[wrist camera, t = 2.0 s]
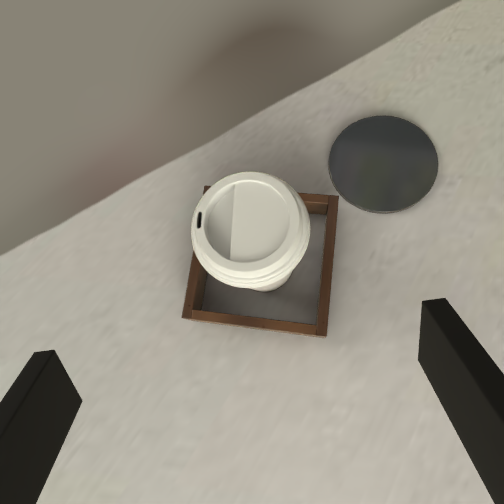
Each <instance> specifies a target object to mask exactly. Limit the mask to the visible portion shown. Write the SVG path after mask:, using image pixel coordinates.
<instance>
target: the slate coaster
mask: <svg viewBox="0 0 504 504" xmlns="http://www.w3.org/2000/svg"><path fill="white" fill-rule="evenodd" d="M437 172H438V158H437V153H436V150H435V147H434V145H433V143H432V142H431V140H430V139H429V137H428V136H427V135H426V134H425V133H424V132H423V131H422V130H421V129H420V128H419V127H417V126H416V125H414V124H413V123H411V122H409V121H407V120H404V119H401V118H398V117H393V116H372V117H368V118H364V119H361V120H359V121H357V122H355V123H353V124H351V125H350V126H348V127H347V128H346V129H345V130H343V131H342V132H341V134H340V135H339V136H338V137H337V139H336V140H335V142H334V144H333V146H332V148H331V151H330V156H329V174H330V177H331V180H332V183H333V185H334V187H335V188H336V190H337V191H338V192H339V194H340V195H341V196H342V197H343V198H344V199H345V200H346V201H348V202H349V203H350V204H352V205H354V206H356V207H357V208H360V209H362V210H365V211H369V212H373V213H394V212H399V211H402V210H405V209H407V208H409V207H411V206H413V205H415V204H416V203H418V202H419V201H420V200H421V199H423V198H424V197H425V195H426V194H427V193H428V192H429V191H430V189H431V187H432V186H433V184H434V182H435V179H436V176H437Z"/></svg>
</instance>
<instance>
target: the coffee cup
mask: <svg viewBox="0 0 504 504" xmlns="http://www.w3.org/2000/svg"><path fill="white" fill-rule="evenodd" d="M309 238H310V219H309V214H308V211H307V208H306V206H305V204H304V202H303V200H302V199H301V197H300V196H299V194H298V193H297V192H296V191H295V190H294V189H293V188H292V187H291V186H290V185H289V184H287V183H286V182H285V181H283V180H281V179H280V178H278V177H275V176H273V175H270V174H267V173H262V172H239V173H235V174H232V175H229V176H227V177H224V178H223V179H221V180H219V181H218V182H216V183H215V184H214V185H213V186H211V187H210V188H209V189H208V190H207V192H206V193H205V194H204V195H203V196H202V198H201V199H200V201H199V203H198V205H197V207H196V209H195V212H194V215H193V218H192V224H191V239H192V245H193V249H194V252H195V254H196V256H197V258H198V260H199V262H200V263H201V265H202V266H203V267H204V268H205V270H206V271H207V272H208V273H209V274H211V275H212V276H213V277H214V278H216V279H218V280H219V281H221V282H223V283H225V284H228V285H231V286H235V287H240V288H250V289H253V290H255V291H260V292H268V291H273V290H275V289H278V288H279V287H281V286H282V285H283V284H285V283H286V281H287V280H288V279H289V277H290V275H291V273H292V270H293V269H294V268H295V267H296V266H297V264H298V263H299V262H300V260H301V259H302V257H303V255H304V253H305V251H306V249H307V246H308V243H309Z"/></svg>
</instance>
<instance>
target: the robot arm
mask: <svg viewBox="0 0 504 504" xmlns="http://www.w3.org/2000/svg"><path fill="white" fill-rule="evenodd" d="M418 361H419V363H420V364H421V366H422V368H423V370H424V372H425V374H426V376H427V378H428V380H429V381H430V383H431V385H432V387H433V389H434V391H435V393H436V395H437V396H438V398H439V400H440V402H441V404H442V406H443V408H444V410H445V411H446V413H447V415H448V417H449V419H450V421H451V423H452V425H453V426H454V428H455V430H456V432H457V434H458V436H459V438H460V440H461V441H462V443H463V445H464V447H465V449H466V451H467V453H468V455H469V456H470V458H471V460H472V462H473V464H474V466H475V468H476V470H477V471H478V473H479V475H480V477H481V479H482V481H483V483H484V485H485V486H486V488H487V490H488V492H489V494H490V496H491V498H492V500H493V501H494V503H495V504H504V374H503V373H502V372H501V370H500V369H499V368H498V366H497V365H496V364H495V362H494V361H493V360H492V358H491V357H490V356H489V355H488V353H487V352H486V351H485V349H484V348H483V347H482V345H481V344H480V343H479V341H478V340H477V339H476V338H475V336H474V335H473V334H472V332H471V331H470V330H469V328H468V327H467V326H466V324H465V323H464V322H463V321H462V319H461V318H460V317H459V315H458V314H457V313H456V311H455V310H454V309H453V307H452V306H451V305H450V304H449V302H448V301H447V300H446V298H441V299H434V300H426V301H422V311H421V325H420V339H419V353H418ZM81 403H82V399H81V397H80V396H79V394H78V392H77V390H76V388H75V386H74V385H73V383H72V381H71V379H70V377H69V376H68V374H67V372H66V370H65V368H64V366H63V365H62V363H61V361H60V359H59V357H58V355H57V354H56V352H55V350H49V351H41V352H34V354H33V355H32V357H31V358H30V359H29V361H28V362H27V364H26V365H25V367H24V368H23V370H22V371H21V373H20V374H19V376H18V377H17V379H16V380H15V382H14V383H13V385H12V386H11V388H10V389H9V390H8V392H7V393H6V395H5V396H4V398H3V399H2V401H1V402H0V504H36V502H37V500H38V498H39V496H40V494H41V491H42V489H43V487H44V485H45V483H46V480H47V478H48V476H49V474H50V472H51V469H52V467H53V465H54V463H55V461H56V458H57V456H58V454H59V452H60V449H61V447H62V445H63V443H64V441H65V438H66V436H67V434H68V432H69V430H70V427H71V425H72V423H73V421H74V419H75V416H76V414H77V412H78V410H79V408H80V405H81Z"/></svg>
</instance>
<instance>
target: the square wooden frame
mask: <svg viewBox="0 0 504 504" xmlns="http://www.w3.org/2000/svg"><path fill="white" fill-rule="evenodd" d="M210 187H211V186H205V187H204V192H203V195H204V194H205V193H206V192H207V190H208V189H209V188H210ZM298 194H299V196H300V197H301V199H302V200H303V202H304V204H305V206H306V208H307V211H308V213H311V214H323V215H326V223H325V233H324V244H323V255H322V265H321V276H320V286H319V297H318V308H317V318H316V325H311V324H303V323H295V322H288V321H280V320H272V319H264V318H256V317H248V316H241V315H233V314H225V313H217V312H209V311H201V309H202V302H203V296H204V290H205V284H206V278H207V271H206V270H205V268H204V267H203V266H202V265H201V263H200V262H199V260H198V258H197V256H196V254H195V252H194V250H193V256H192V261H191V267H190V273H189V279H188V284H187V290H186V296H185V302H184V307H183V313H182V318H184V319H188V320H192V321H200V322H207V323H215V324H222V325H230V326H237V327H245V328H253V329H260V330H268V331H275V332H283V333H290V334H298V335H305V336H313V337H321V338H325V337H326V336H327V325H328V314H329V302H330V291H331V279H332V268H333V257H334V245H335V234H336V222H337V211H338V199H339V196H334V195H320V194H307V193H298Z"/></svg>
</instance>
